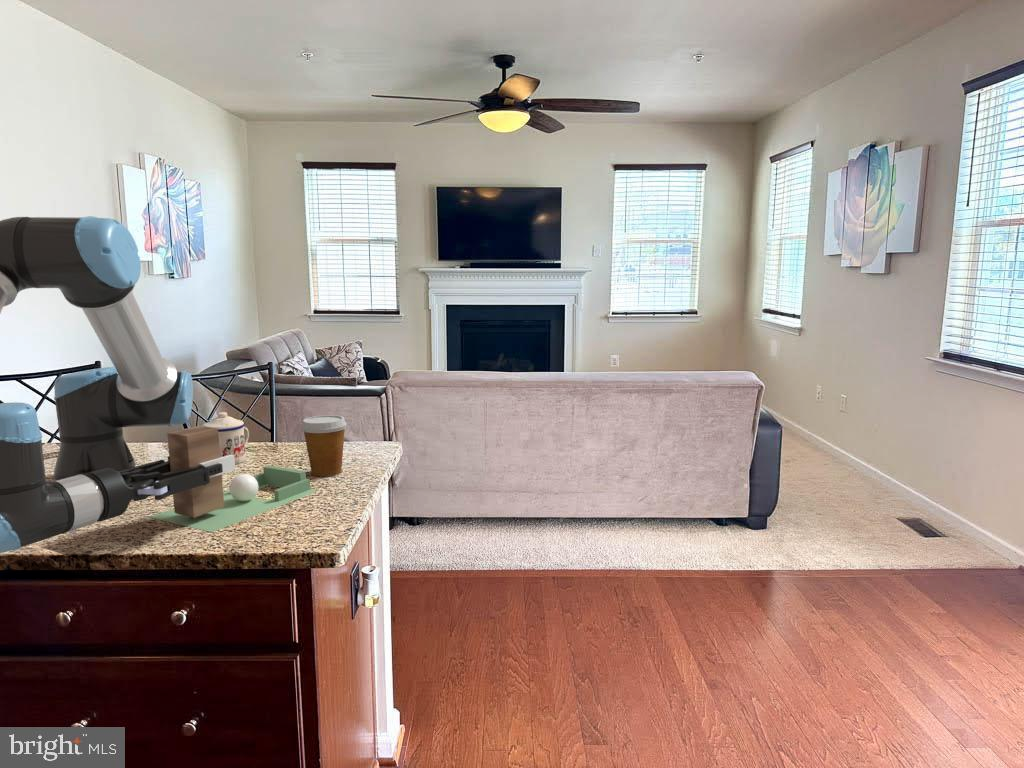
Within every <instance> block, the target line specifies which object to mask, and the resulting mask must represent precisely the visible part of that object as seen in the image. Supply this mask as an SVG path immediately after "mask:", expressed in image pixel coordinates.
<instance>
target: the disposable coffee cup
mask: <svg viewBox="0 0 1024 768" xmlns="http://www.w3.org/2000/svg"><path fill="white" fill-rule="evenodd" d="M346 427H347V421H346V420H345V417H344V416H342V415H337V414H336V415H335V414H330V415H329V414H328V415H315V416H310V417H306V418H304V419H303V420H302V425H301V427H300V428H301V429H302V431H303V435H304V439H305V446H306V450H307V455H308V461H309V465H310V471H311V475H312V474H313V475H312V476H314V475H315V477H318V476H326V477H333V476H337V475H340V474H341V473H342V469H343V468H342V467H343V455H344V454H343V453H344V444H345V443H344V442H345V433H346V432H345V431H346V430H345V429H346ZM340 472H341V473H340ZM336 474H337V475H336ZM332 475H333V476H332Z"/></svg>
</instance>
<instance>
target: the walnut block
mask: <svg viewBox="0 0 1024 768" xmlns="http://www.w3.org/2000/svg"><path fill="white" fill-rule="evenodd" d="M166 434H167V444H168V456H169V458H170V468H171V472H172V471H177V470H182V469H187V468H191V467H196V466H199V464H200V463H203V462H207V461H210V460H214V459H218V458H220V447H219V435H218V429H217V428H210V427H203V425H197V426H192V427H187V428H184V429H182V428H181V429H180V430H174V431H170V432H167V433H166ZM223 492H224V488H223V474H221V475H218V476H214V477H211V478H210V483H208V484H206V485H202V486H198V487H195V488H192V489H189V490H185V491H182V492H179V493H176V494H173V495H172V499H173V509H174V511H175V513H176V514H180V515H185V516H189V517H193V518H195V517H198V516H200V515H203V514H206V513H209V512H211V511H214V510H217V509H220V508H223V507H224V497H223Z"/></svg>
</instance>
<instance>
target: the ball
mask: <svg viewBox="0 0 1024 768" xmlns="http://www.w3.org/2000/svg"><path fill="white" fill-rule="evenodd" d="M253 476H254V475H252V474H251V475H250V474H246V473H241V474H238V475H237V476H234V478H233V479H231V481H230V484H229V486H228V487H229V488H228V490H230V494H231V496H232V497H233V498H234V499H236V500H238V501H249V500H251V499H252V498H256V497H255V496H256V495H257V494H258V491H259V489H258V482H257V480H256V479H255V478H254V477H253Z"/></svg>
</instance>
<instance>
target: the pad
mask: <svg viewBox="0 0 1024 768" xmlns="http://www.w3.org/2000/svg"><path fill="white" fill-rule="evenodd" d="M262 468H263V472H261V473H257V474H255V475H252V476H253V477H254V478H255V479H256V480H257V482H258V490H260V489H263V488H266V487H268V486H271V487H277V488H276V489H274V490H273V492H274V497H273V498H269V499H262V498H257V497H254V498H252V499H251V500H249V501H238V500H236V499H234V498H233V497H232V496H231V494H230V490H229V489H228V490H226V491H223V497H224V507H223V508H220V509H217V510H214V511H211V512H209V513H206V514H203V515H200V516H198V517H195V518H193V517H189V516H185V515H180V514H176V513H175V511H174V508H172V509H169V510H165V511H163V512H160V513H158V514H157V513H156V514H154V515H151V516H149V518H152V519H156V520H159V521H164V522H167V523H172V524H175V525H180V526H184V527H188V528H193V529H197V530H201V531H205V532H209V533H215V532H217V531H219V530H221V529H225V528H227V527H229V526H232V525H235V524H237V523H240V522H242V521H245V520H247V519H250V518H253V517H255V516H257V515H260V514H264V513H266V512H269V511H270V510H273V509H276V508H277V507H280V506H281V507H282V506H283V505H286V504H289V503H291V502H293V501H296V500H298V499H299V500H300V499H302V498H304V497H306V496H309V495H312V494H314V493H317V492H318V490H317V489H316V490H315V489H311V479H309V478H307V473H306V471H305V470H300V469H295V468H287V467H281V466H275V465H265V466H263V467H262Z"/></svg>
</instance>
